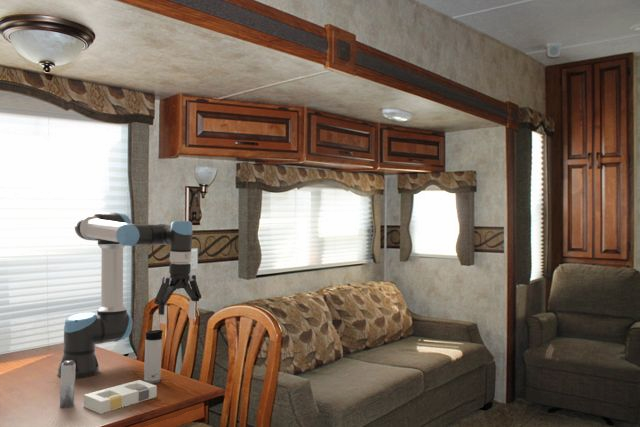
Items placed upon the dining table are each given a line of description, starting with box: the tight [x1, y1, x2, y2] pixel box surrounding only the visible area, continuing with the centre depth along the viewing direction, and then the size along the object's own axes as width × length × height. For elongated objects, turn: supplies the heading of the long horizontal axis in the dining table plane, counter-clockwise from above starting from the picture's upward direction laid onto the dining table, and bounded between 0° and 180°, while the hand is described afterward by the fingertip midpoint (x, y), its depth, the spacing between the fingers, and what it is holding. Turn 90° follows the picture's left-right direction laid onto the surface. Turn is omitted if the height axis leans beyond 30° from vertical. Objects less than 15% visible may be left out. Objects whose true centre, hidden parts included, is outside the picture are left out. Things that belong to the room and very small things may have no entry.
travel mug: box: [143, 329, 164, 385], centre depth 214 cm, size 6×7×20 cm
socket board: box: [83, 379, 158, 415], centre depth 191 cm, size 10×22×4 cm, turn 145°
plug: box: [59, 360, 76, 409], centre depth 185 cm, size 4×4×15 cm
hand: (177, 320), depth 201 cm, fingers open, 13 cm apart
